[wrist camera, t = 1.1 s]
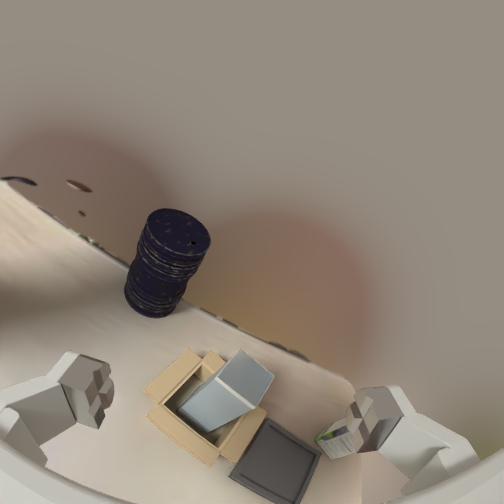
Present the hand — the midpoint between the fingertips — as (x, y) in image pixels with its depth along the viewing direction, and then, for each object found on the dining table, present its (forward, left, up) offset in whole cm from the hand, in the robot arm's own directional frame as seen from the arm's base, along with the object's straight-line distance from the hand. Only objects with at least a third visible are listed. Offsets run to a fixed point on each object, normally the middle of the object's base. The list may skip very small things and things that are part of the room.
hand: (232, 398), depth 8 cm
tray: (+18, +13, -30) cm, 37 cm away
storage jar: (-16, +23, -30) cm, 41 cm away
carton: (+3, +13, -30) cm, 33 cm away
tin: (+3, +13, -30) cm, 33 cm away
